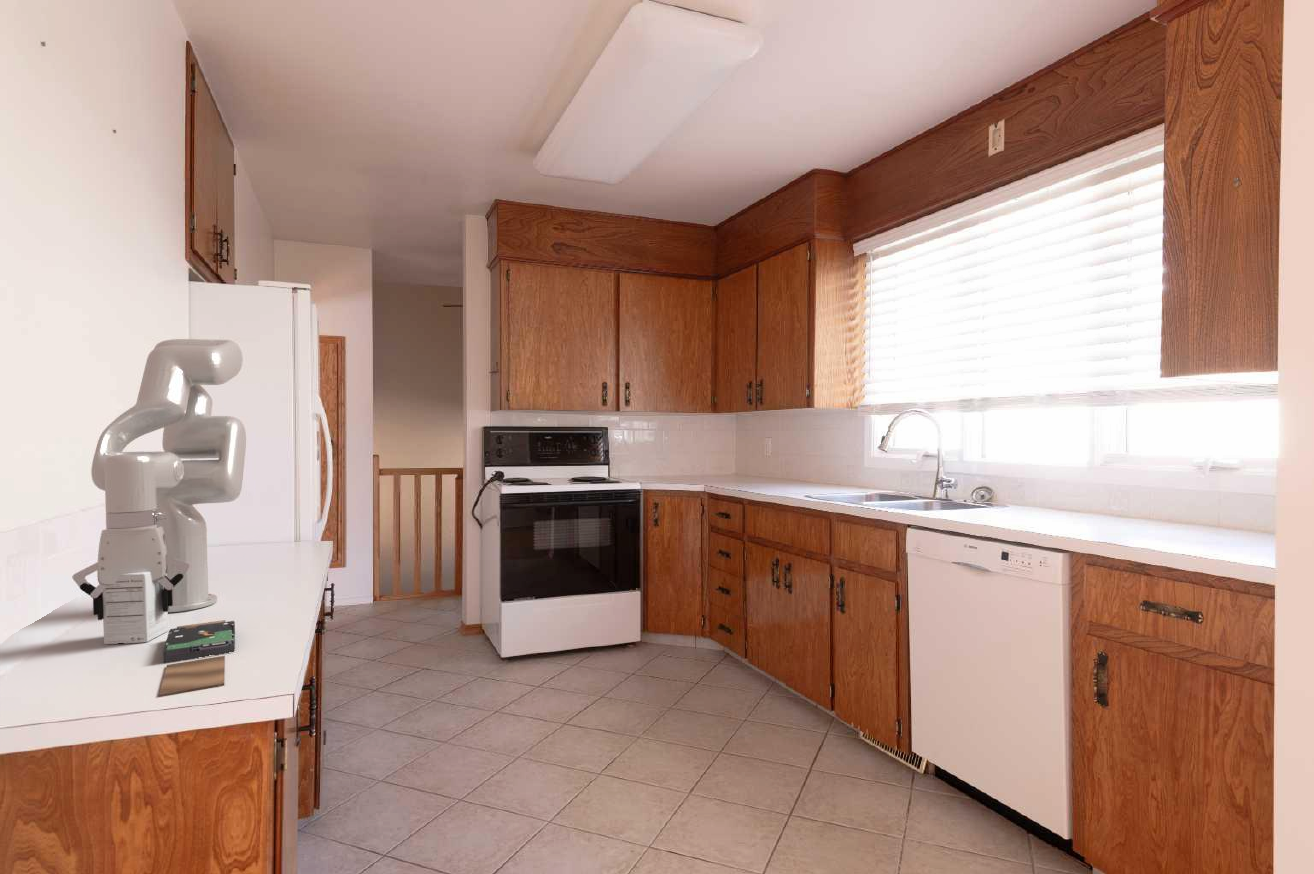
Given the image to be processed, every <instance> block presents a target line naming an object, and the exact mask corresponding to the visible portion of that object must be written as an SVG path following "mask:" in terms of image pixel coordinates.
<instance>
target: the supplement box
mask: <svg viewBox="0 0 1314 874" xmlns="http://www.w3.org/2000/svg"><path fill="white" fill-rule="evenodd" d="M165 575H166V576H167V573H166V574H165ZM163 589H164V587H163V586H162V585H161V584H160V583H159V582H158V581H153V580H152V577H151V572H140V573H130V574H121V575H119V577H118V578H117V581H116V584H113V585H110V586H107V587H106V588H105V589H104V591H103V619H102V620H103V644H104V645H119V644H118V643H124V644H140V643H141V644H143V643H148V642H150V641H152V640H153V639H155V638H157V637H159V636H162V635H163V634H165V633H167V632H169V615H168V612H164V611H163V597H162V591H163Z"/></svg>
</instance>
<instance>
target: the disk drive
mask: <svg viewBox="0 0 1314 874" xmlns="http://www.w3.org/2000/svg"><path fill="white" fill-rule="evenodd" d="M235 625H236V622H235V620H231V621H225V622H222V623H214V624H206V625H199V626H197V627H195V628H188V629H186V628H185V627H183V628H177V627H176V628H170V629H169V630H168V634H167V638H166V640H165V644H164V646H163V651H162V654H163V655H162V657H163V658H162V659H163V664H171V663H175V662H177V663H178V662H182V661H181V660H183V661H189V660H196V659H200V658H199V657H202V658H206V657H205V656H209V655H215V656H219V654H222V655H225V654H224V653H228V654H230V653H229V652H234V651H236V637H235V635H236V630H235V629H236V626H235ZM234 653H235V652H234ZM209 657H210V656H209ZM195 658H196V659H195Z"/></svg>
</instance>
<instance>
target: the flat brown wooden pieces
mask: <svg viewBox="0 0 1314 874" xmlns="http://www.w3.org/2000/svg"><path fill="white" fill-rule="evenodd" d="M222 622H226V619H225V620H223V619H221V620H214V621H207V622H201V623H200V622H199V623H195V624H193V623H192V624H187V625H186V624H185V625H179V626H176V628H183V627H185V628H186V629H188V628H195V627H197V626H199V625H206V624H214V623H222ZM225 662H226V657H225V655H222V656H221V655H220V656H216V657H215V656H213V657H207V658H202V659H201V658H200V659H194V660H192V661H189V660H187V661H183V662H182V661H181V662H177V663H168V664H166V667H165V671H164V675H163V678H162V682H161V685H160V689H159V694H158V697H165V696H170V695H175V694H182V693H188V692H193V691H200V690H205V689H211V688H215V687H222V686H223V687H224V686H225V676H226V675H225V668H226V666H225V664H226V663H225Z"/></svg>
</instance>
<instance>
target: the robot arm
mask: <svg viewBox="0 0 1314 874" xmlns="http://www.w3.org/2000/svg"><path fill="white" fill-rule="evenodd" d="M242 352H243V351H242V350H241V348H240V346H239V345H238V344H237V343H236V342H235V341H233V340H229V339H204V338H203V339H200V338H199V339H196V338H176V339H175V338H174V339H167V340H162V341H160V342H158V343H157V344H156V345H155V346H154V348H153V349H152V350H151V351H150V352H149V354H148V356H147V358H146V362H145V365H144V370H143V374H142V378H141V383H140V387H139V390H138V395H137V398H136V399H137V400H136V403H135V404H134V405H132V407H130V408H129V409H127V410H125V411H124V412H123V413H122V414H120V415H119V416H117V417H116V418H115V419H114V420H112V422H111V423H109V425H107V426H106V428H105V429H104V430H103V431H102V432H101V434H100V436H99V439H98V440H97V442H96V443H97V444H96V448H95V451H94V455H93V459H92V463H91V470H90V473H91V480H92V482H93V484H94V486H95V487H97V489H99V490H101V491H104V493H105V494H104V495H105V496H104V497H105V529H102V530H101V533H100V536H99V537H100V539H99V542H98V543H99V544H98V551H97V552H98V553H97V562H95V563H93V564H91V565H89V566H87V567H85V568H83V569H81V570H79V571H78V572H76V573H74V574H73V575H72V580H73V581H74V582H75V583H76V585H77V586H78V587H79V589H80V590H81V591H82V592H84V593H85V594H87V595H89V596H90V598H91V599H92V607H93V608H92V611H93V612H92V613H93V616H97V620H98V621H102V620H103V591H104V589H105V588H106V587H107V586H110V585H113V584H116V581H117V578H118V577H119V575H121V574H130V573H140V572H151V577H152V580H153V581H158V582H159V583H160V584H161V585H162V586H163V587H164V589H163V591H162V597H163V611H164V612H168V613H177V612H179V613H180V612H185V611H190V610H191V611H193V610H197V609H202V608H205V607H209V606H211V605H214V604H215V603H216V602H217V601H218V598H217V597H218V596H217V595H216V594H214V593H213V594H212V593H209V572H208V571H209V569H208V568H209V567H208V541H207V540H208V537H207V536H208V535H207V534H208V533H207V532H208V531H207V524H206V521H205V518H204V516H203V515H202V514H201V513H200V512H199V511H198V510H197V508H196V507H195V506H194V505H199V504H201V505H202V504H203V505H204V504H221V503H231V502H234V501H235V500H237V498H239V497H240V494H241V492H242V487H243V480H244V479H243V478H244V468H245V459H246V449H247V434H246V433H247V432H246V428H245V425H244V424H243V422H242V421H241V419H239V418H237V417H234V416H229V415H212V412H213V399H212V397H211V395H210V393H208V392H207V390H206V389H205V388H204V387H203V386H219V385H223V384H225V383H228V382H229V381H230V380H232V379H233V378H235V377H236V376H237V375H238V374H239V372H240V371H241V369H242V366H243V362H244V361H243V353H242ZM162 429H163V433H162V440H161V441H162V450H163V451H123V450H124V449H125V448H126V447H127V446H128V445H129V444H130V443H132V442H133V441H135V440H136V439H138V438H140V437H142V436H144V435H147V434H149V433H152V432H155V431H158V430H162ZM182 459H183V460H182ZM189 459H190V460H189ZM201 459H202V460H201ZM95 572H97V576H96V577H97V583H98V585H97V586H94V585H93V584H91V583H90V582H88V580H87V578H86V577H87V576H89V575H91V574H94V573H95ZM166 573H167V576H166V575H165V574H166Z"/></svg>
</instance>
